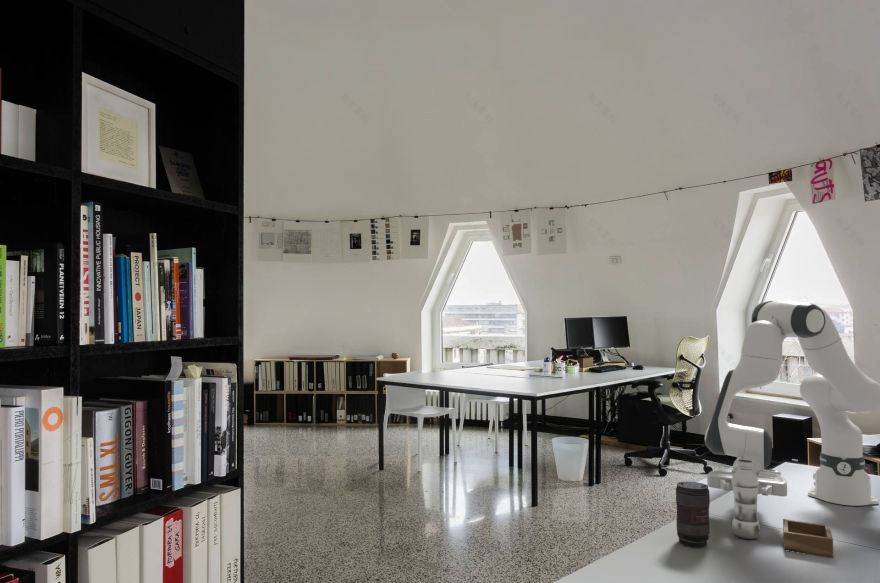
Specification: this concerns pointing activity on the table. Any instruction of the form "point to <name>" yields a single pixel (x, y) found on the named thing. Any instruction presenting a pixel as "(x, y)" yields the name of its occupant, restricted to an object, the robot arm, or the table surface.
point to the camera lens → (693, 514)
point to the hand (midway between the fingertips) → (745, 490)
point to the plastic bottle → (745, 501)
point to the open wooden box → (807, 538)
